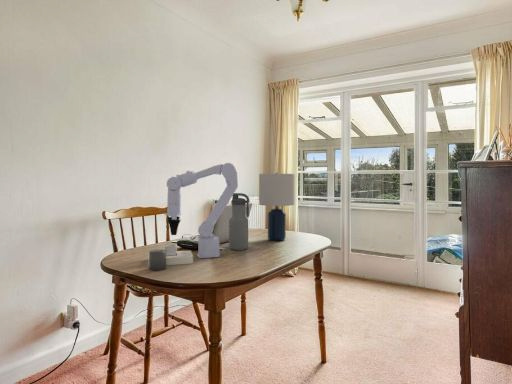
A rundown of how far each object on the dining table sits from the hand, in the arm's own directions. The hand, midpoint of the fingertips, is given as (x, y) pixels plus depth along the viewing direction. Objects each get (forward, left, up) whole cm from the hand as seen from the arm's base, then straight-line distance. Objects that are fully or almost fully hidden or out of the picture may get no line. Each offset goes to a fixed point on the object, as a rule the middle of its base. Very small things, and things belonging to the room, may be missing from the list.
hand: (173, 233), depth 154 cm
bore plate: (+2, +9, -10) cm, 14 cm away
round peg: (+7, +20, -11) cm, 24 cm away
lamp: (-58, -28, -11) cm, 66 cm away
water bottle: (-32, -10, -11) cm, 36 cm away
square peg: (+2, +9, -11) cm, 14 cm away
